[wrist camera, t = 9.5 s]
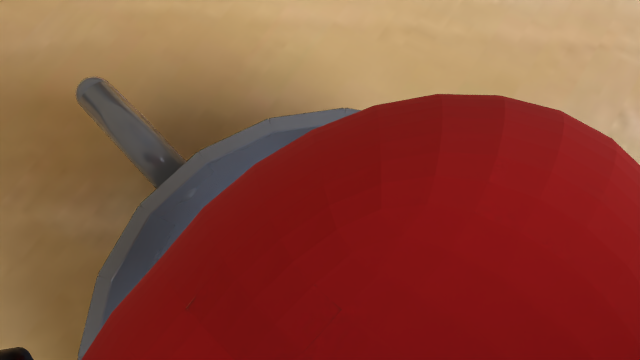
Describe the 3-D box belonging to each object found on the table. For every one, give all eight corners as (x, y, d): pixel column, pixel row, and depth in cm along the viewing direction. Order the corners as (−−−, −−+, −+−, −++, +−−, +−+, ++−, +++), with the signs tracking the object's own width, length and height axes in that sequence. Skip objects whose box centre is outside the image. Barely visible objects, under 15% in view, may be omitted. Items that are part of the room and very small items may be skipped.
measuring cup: (618, 352, 19) (720, 373, 14) (334, 657, 18) (334, 801, 13) (264, 6, 22) (243, -83, 17) (-10, 249, 20) (-125, 233, 15)
